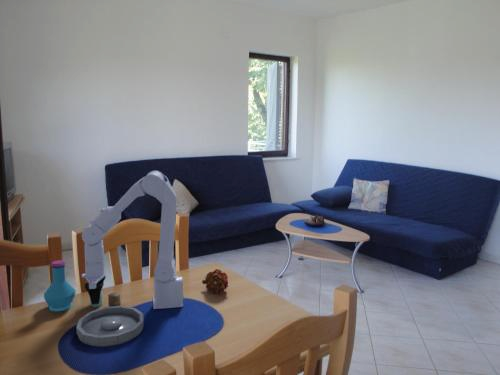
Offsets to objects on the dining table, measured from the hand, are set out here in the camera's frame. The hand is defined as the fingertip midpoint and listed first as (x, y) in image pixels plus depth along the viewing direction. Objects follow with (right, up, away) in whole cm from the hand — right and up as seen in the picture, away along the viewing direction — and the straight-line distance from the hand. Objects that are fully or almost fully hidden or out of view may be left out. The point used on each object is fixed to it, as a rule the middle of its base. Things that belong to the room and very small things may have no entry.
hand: (96, 300), depth 132 cm
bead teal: (0, -1, 0) cm, 1 cm away
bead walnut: (+7, -2, -3) cm, 8 cm away
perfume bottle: (-11, -2, -1) cm, 11 cm away
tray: (+10, -4, -15) cm, 18 cm away
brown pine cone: (+38, 0, +14) cm, 40 cm away
